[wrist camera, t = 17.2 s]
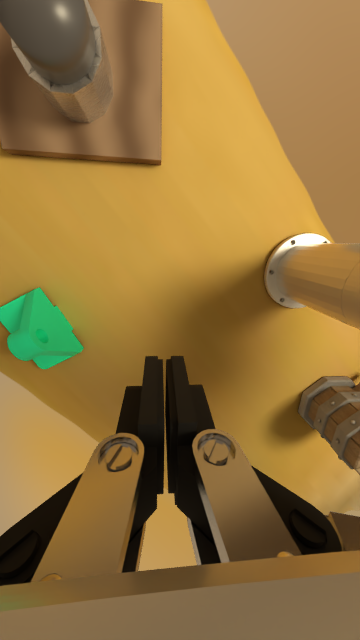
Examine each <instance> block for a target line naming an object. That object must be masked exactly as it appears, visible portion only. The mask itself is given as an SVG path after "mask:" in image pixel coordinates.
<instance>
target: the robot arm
mask: <svg viewBox="0 0 360 640" xmlns="http://www.w3.org/2000/svg"><path fill="white" fill-rule="evenodd" d="M290 242H291V244H290ZM269 271H270V273H269ZM264 281H265V287H266V289H267V292H268V294H269V295H270V297H271V298H272V299H273V300H274V301H275V302H277V303H279V304H280V305H282V306H285V307H288V308H303V307H306V306H307V307H309V308H312V309H314V310H316V311H318V312H321V313H323V314H325V315H328V316H330V317H332V318H334V319H337V320H339V321H341V322H343V323H346V324H348V325H350V326H353V327H355V328H358V329H360V244H338V243H331V242H330V241H329V240H328V239H326V238H325V237H324V236H321V235H319V234H314V233H302V234H297V235H294V236H291V237H289V238H288V239H286V240H284V241H283V242H282V243H281V244H279V245H278V246H277V247H276V249H275V250H274V251H273V252H272V254H271V256H270V257H269V259H268V262H267V264H266V268H265V273H264ZM280 298H281V299H280ZM165 418H166V444H167V470H168V493H174V496H175V505H177V507H178V508H179V509H180V510H181V511H182V512H183V513H184V514H185V515H186V516H187V521H188V528H189V531H190V536H191V541H192V544H193V549H194V553H195V558H196V562H197V565H196V566H186V567H177V568H167V569H157V570H147V571H138V569H139V563H140V557H141V552H142V545H143V540H144V533H145V526H146V521H147V519H148V518H149V517H150V516H151V515H152V513H153V512H154V511H155V510H156V509H157V494H163V487H164V390H163V359H158V356H146V358H145V366H144V375H143V384H142V386H127V387H126V390H125V394H124V399H123V403H122V408H121V412H120V417H119V421H118V426H117V430H116V434H114V435H111V436H109V437H107V438H105V439H104V440H103V441H102V442H101V443H99V444H98V446H97V447H96V449H95V450H94V452H93V454H92V456H91V458H90V460H89V462H88V464H87V466H86V468H85V471H84V472H83V473H82V474H81V475H79V476H78V477H77V478H75V479H74V480H73V481H71V482H70V483H69V484H67V485H66V486H65V487H64V488H62V489H61V490H60V491H58V492H57V493H56V494H54V495H53V496H52V497H51V498H49V499H48V500H46V501H45V502H44V503H43V504H41V505H40V506H39V507H37V508H36V509H35V510H33V511H32V512H31V513H29V514H28V515H27V516H25V517H24V518H23V519H21V520H20V521H19V522H17V523H16V524H15V525H14V526H12V527H11V528H10V529H8V530H7V531H6V532H5V533H4V534H3V535H2V536H0V640H360V517H358V516H352V515H346V514H341V513H336V512H331V511H330V513H329V515H323V513H321V512H320V511H319V510H318V509H316V508H315V507H314V506H313V505H311V504H310V503H308V502H307V501H305V500H303V499H302V498H300V497H299V496H297V495H296V494H294V493H293V492H291V491H290V490H288V489H287V488H285V487H283V486H282V485H280V484H279V483H277V482H276V481H274V480H273V479H271V478H270V477H268V476H267V475H265V474H264V473H262V472H260V471H259V470H257V469H256V468H254V467H253V466H251V465H250V463H249V461H248V460H247V458H246V456H245V454H244V453H243V451H242V449H241V447H240V446H239V444H238V442H237V441H236V440H235V439H234V438H233V437H232V436H231V435H229V434H228V433H226V432H224V431H221V430H217V429H215V426H214V422H213V419H212V416H211V412H210V409H209V406H208V403H207V399H206V396H205V393H204V389H203V386H202V385H189V381H188V377H187V372H186V367H185V363H184V358H183V356H171V359H166V402H165Z"/></svg>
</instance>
